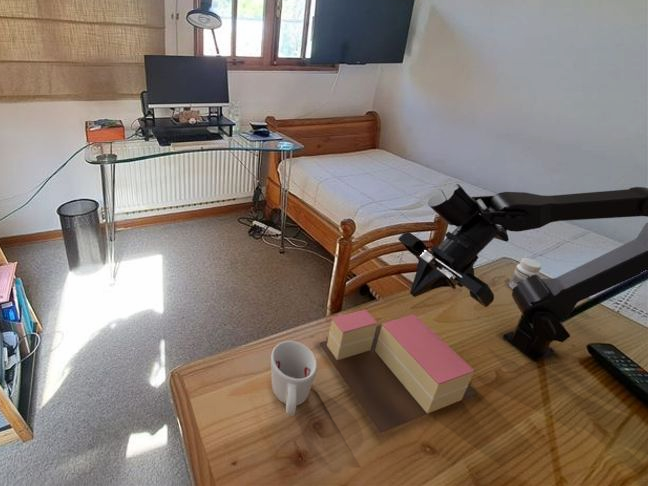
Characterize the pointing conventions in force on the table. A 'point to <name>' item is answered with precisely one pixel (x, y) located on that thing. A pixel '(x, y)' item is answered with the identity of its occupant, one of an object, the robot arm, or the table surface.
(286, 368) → the cup
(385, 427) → the serving board
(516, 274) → the pill bottle
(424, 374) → the cake
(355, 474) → the table surface
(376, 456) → the table surface
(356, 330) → the cake slice
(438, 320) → the table surface
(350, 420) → the table surface
